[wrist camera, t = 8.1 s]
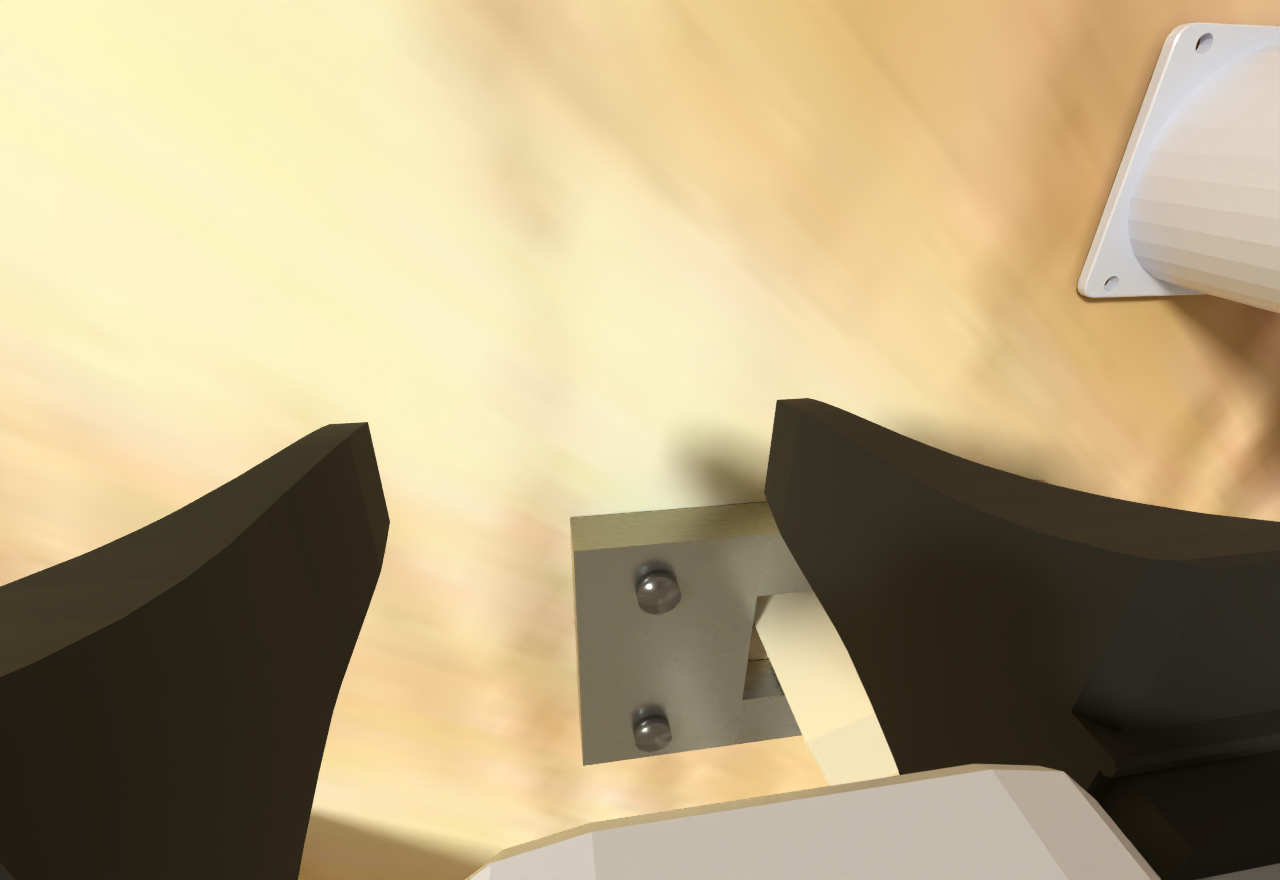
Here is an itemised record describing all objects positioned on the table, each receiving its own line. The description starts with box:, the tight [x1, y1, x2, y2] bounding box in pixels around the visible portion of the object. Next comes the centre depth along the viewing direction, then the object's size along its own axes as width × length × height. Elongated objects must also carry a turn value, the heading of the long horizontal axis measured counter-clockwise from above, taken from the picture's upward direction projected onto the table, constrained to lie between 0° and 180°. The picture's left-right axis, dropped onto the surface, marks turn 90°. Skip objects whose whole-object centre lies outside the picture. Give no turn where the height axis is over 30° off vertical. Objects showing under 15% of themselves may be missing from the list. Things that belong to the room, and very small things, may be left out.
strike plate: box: [570, 480, 1047, 766], centre depth 26 cm, size 20×12×3 cm, turn 89°
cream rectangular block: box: [753, 591, 899, 786], centre depth 24 cm, size 4×4×7 cm
